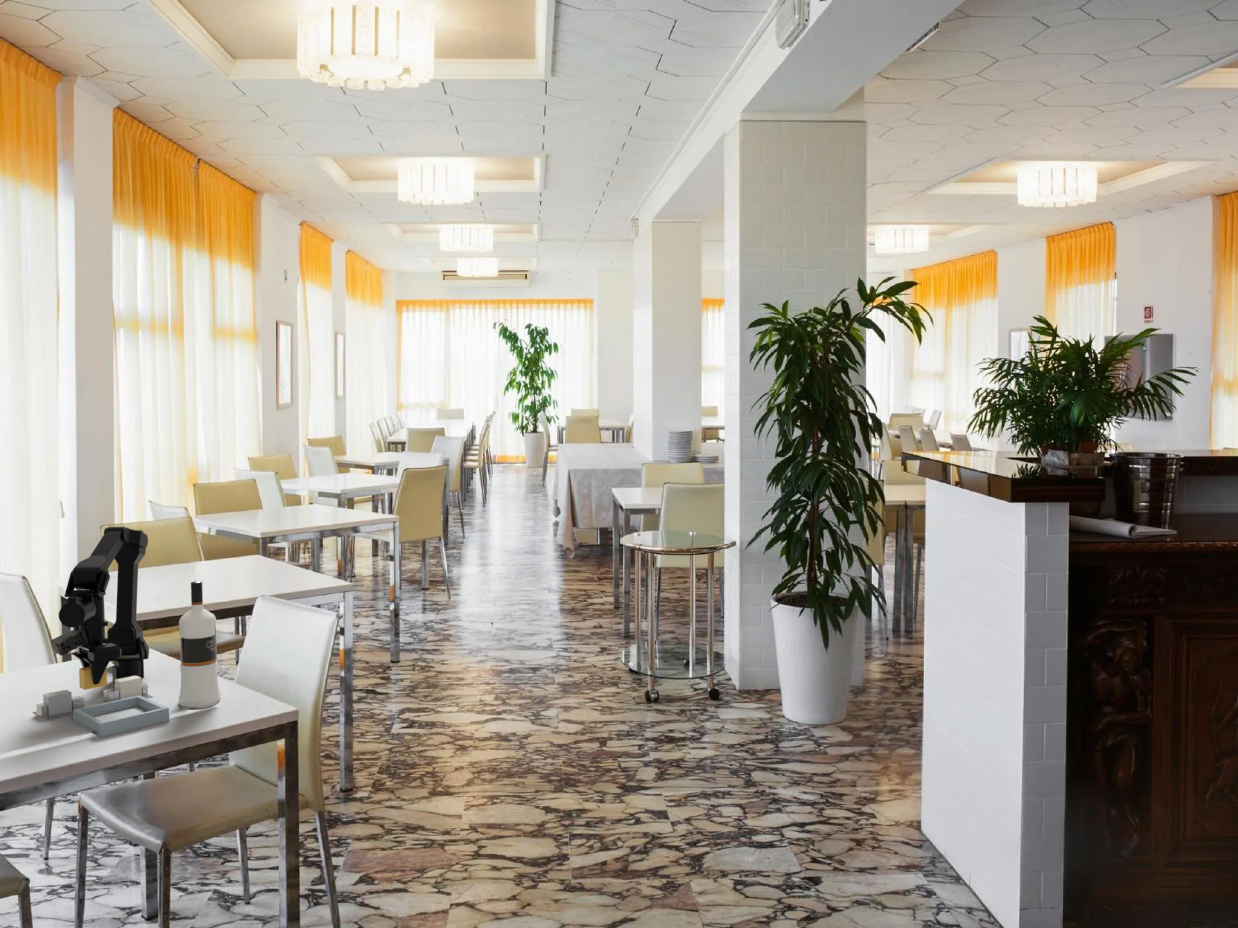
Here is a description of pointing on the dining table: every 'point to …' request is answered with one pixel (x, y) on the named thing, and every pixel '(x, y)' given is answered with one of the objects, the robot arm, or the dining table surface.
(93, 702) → the board
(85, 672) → the block
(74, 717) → the tray
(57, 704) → the block
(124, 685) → the block
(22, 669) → the dining table surface
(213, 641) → the vodka
